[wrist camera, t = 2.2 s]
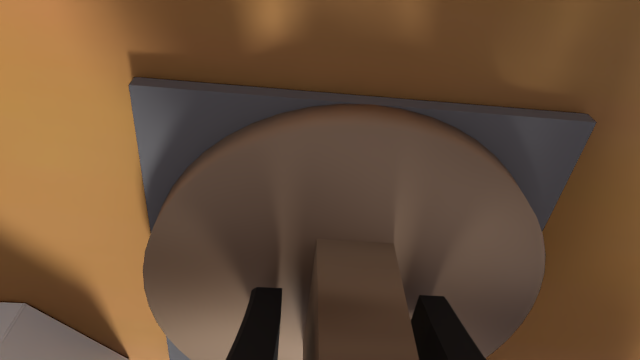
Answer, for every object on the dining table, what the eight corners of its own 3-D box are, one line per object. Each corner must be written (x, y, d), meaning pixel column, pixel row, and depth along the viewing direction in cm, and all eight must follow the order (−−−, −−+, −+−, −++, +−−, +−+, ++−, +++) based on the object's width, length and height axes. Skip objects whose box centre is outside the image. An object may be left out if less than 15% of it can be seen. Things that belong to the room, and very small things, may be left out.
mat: (465, 369, 16) (468, 380, 16) (174, 358, 15) (171, 369, 15) (587, 114, 10) (596, 122, 10) (134, 76, 10) (128, 84, 9)
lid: (467, 379, 16) (515, 538, 12) (171, 368, 15) (127, 533, 12) (596, 122, 10) (759, 276, 6) (129, 84, 9) (15, 233, 6)
